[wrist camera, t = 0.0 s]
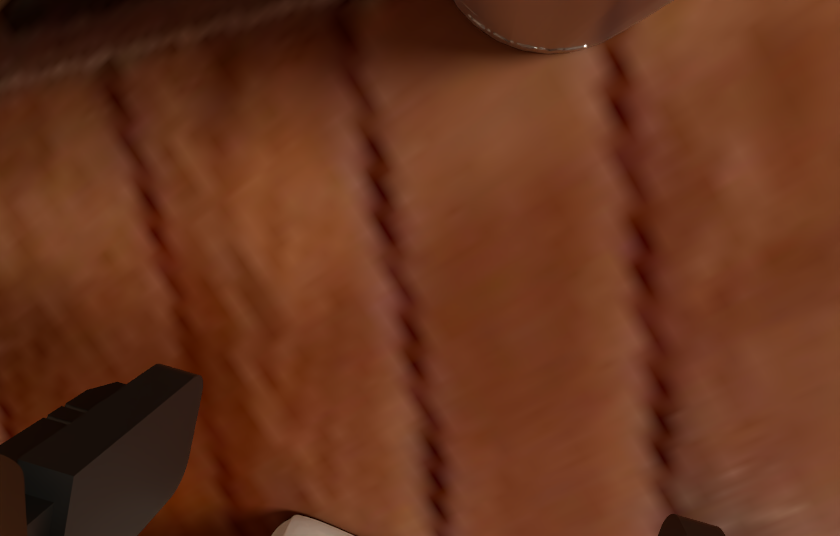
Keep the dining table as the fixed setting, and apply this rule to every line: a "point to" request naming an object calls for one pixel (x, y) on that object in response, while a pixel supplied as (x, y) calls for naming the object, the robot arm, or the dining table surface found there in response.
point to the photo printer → (307, 528)
